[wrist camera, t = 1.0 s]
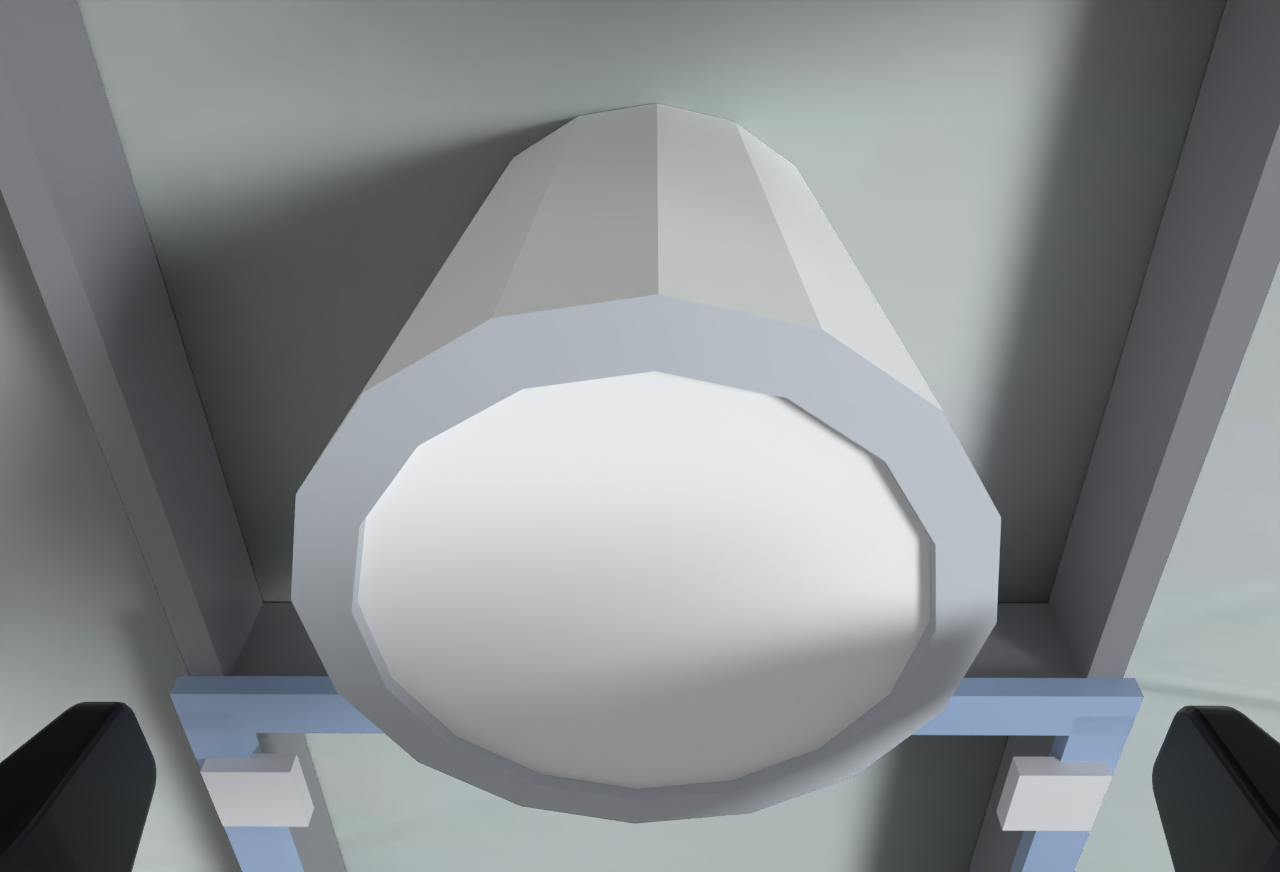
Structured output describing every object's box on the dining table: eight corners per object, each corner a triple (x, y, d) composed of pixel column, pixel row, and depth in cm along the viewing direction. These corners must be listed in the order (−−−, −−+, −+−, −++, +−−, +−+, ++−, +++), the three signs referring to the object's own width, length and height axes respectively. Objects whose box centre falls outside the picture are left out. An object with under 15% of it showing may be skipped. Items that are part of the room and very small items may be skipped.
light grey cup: (745, 520, 18) (785, 889, 12) (369, 382, 17) (217, 732, 11) (970, 181, 15) (1172, 483, 9) (516, -35, 13) (402, 159, 7)
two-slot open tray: (961, 995, 27) (988, 1107, 25) (354, 989, 28) (327, 1100, 26) (1388, -299, 11) (1566, -303, 9) (-78, -274, 12) (-253, -271, 9)
